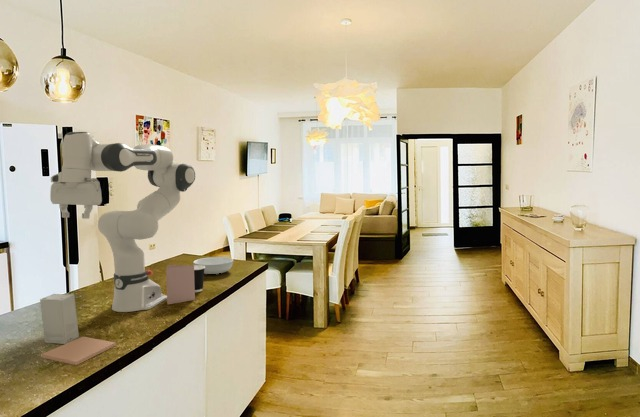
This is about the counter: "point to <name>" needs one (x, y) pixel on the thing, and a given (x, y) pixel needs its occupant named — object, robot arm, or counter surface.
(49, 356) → the terracotta mat
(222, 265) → the serving bowl
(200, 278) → the dixie cup
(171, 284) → the greeting card
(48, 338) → the skincare box
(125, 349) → the counter surface
